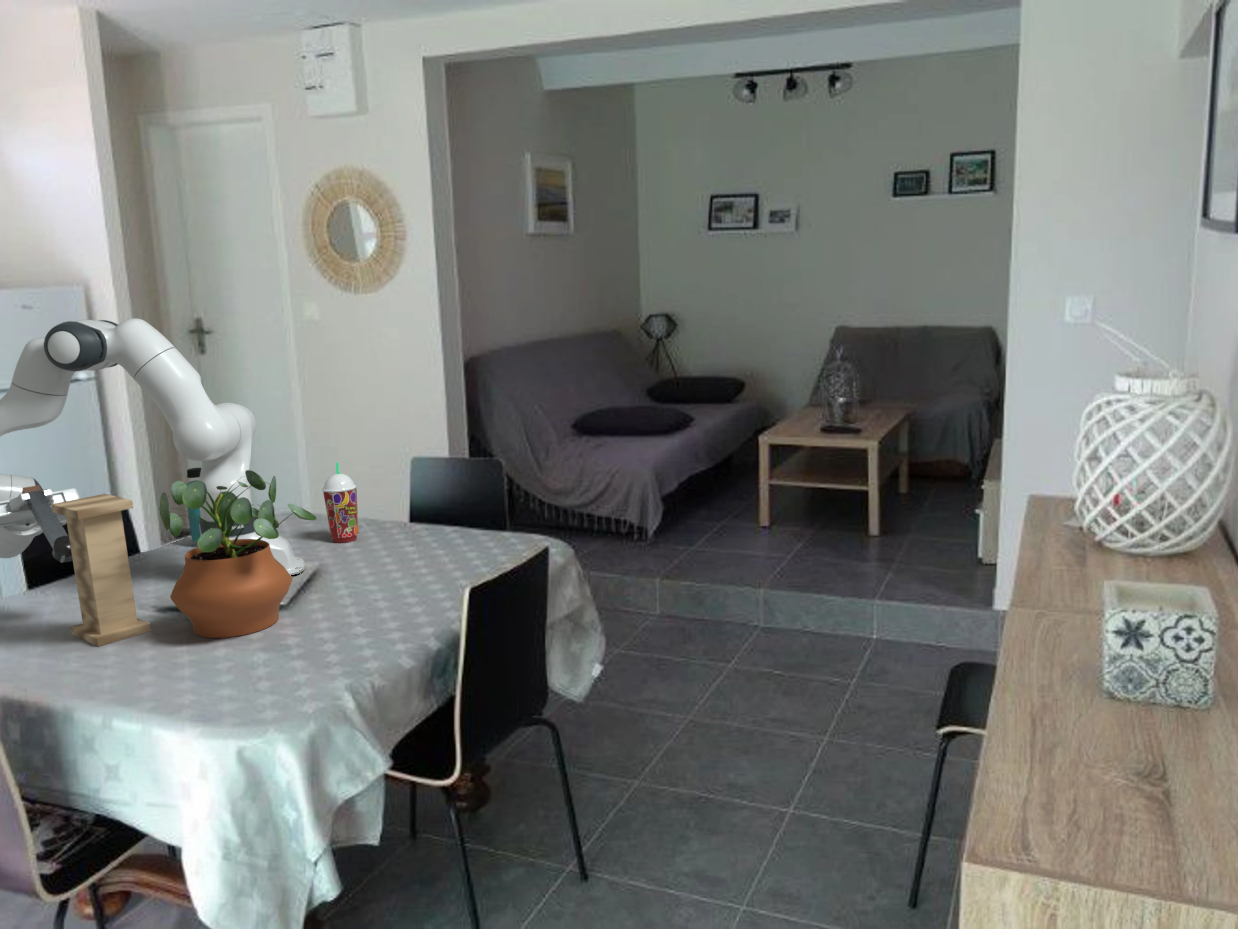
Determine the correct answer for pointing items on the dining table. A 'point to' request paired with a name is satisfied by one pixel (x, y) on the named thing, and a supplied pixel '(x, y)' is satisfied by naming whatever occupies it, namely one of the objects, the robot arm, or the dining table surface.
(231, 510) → the potted plant
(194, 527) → the beverage bottle
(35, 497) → the grey rod with knob
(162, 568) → the dining table surface
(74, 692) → the dining table surface
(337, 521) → the smoothie
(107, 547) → the stand
